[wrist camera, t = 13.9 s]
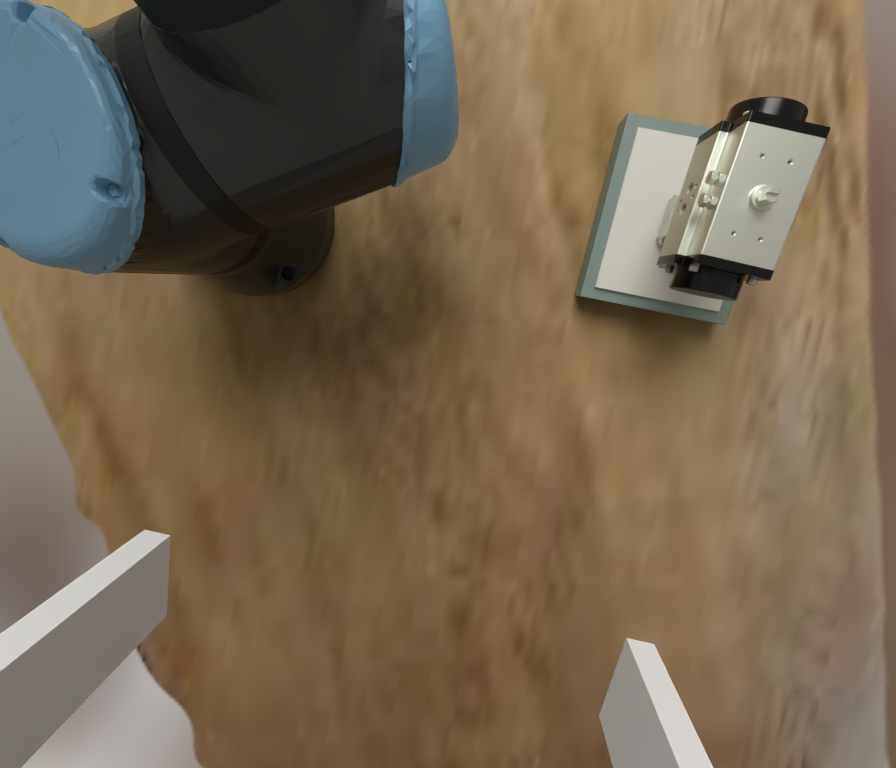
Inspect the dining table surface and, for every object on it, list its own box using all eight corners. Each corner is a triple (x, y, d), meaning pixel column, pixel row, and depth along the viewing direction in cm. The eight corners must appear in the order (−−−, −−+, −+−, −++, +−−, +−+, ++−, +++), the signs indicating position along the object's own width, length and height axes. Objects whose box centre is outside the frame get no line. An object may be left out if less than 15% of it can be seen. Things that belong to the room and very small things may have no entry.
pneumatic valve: (734, 156, 35) (859, 91, 24) (683, 298, 38) (773, 304, 26) (667, 141, 35) (758, 69, 24) (622, 283, 38) (683, 283, 26)
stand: (574, 295, 41) (581, 295, 39) (619, 123, 38) (629, 111, 35) (710, 322, 41) (726, 325, 38) (767, 151, 37) (790, 141, 35)
